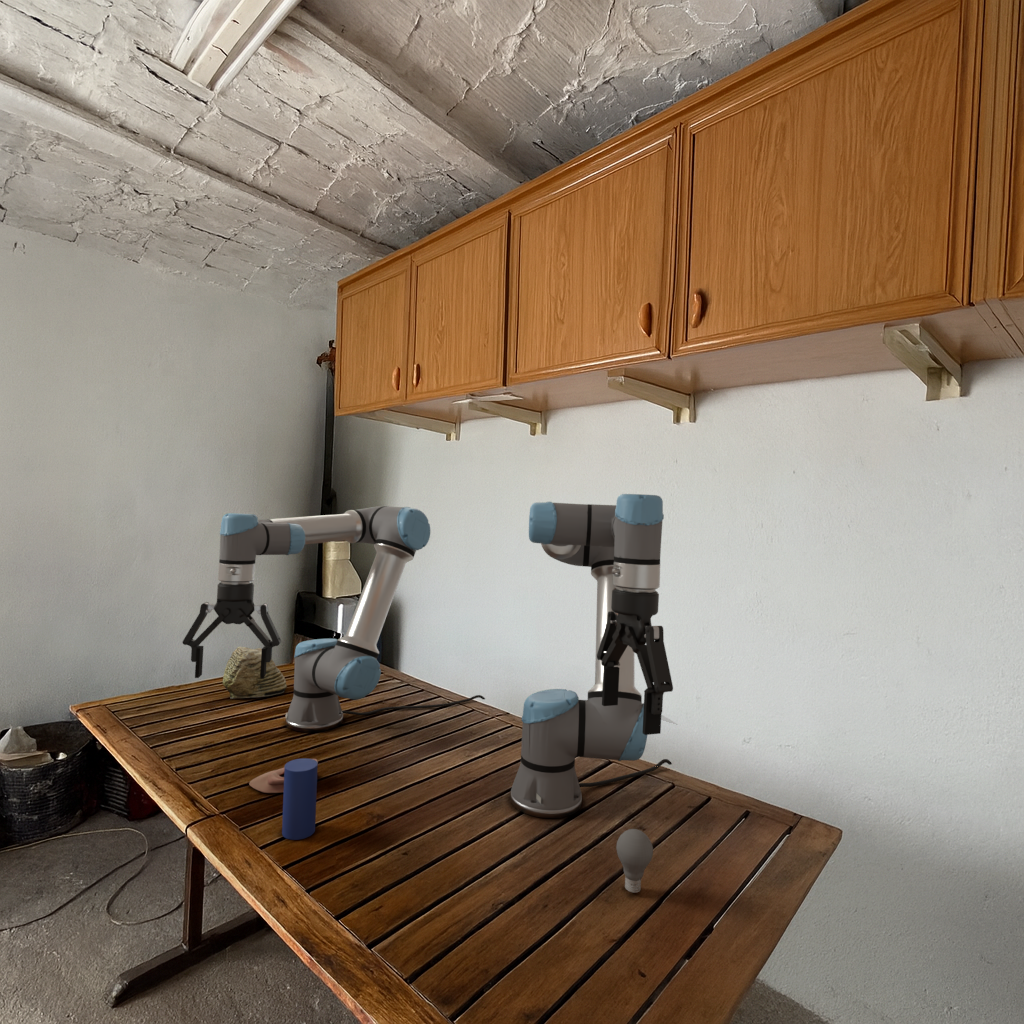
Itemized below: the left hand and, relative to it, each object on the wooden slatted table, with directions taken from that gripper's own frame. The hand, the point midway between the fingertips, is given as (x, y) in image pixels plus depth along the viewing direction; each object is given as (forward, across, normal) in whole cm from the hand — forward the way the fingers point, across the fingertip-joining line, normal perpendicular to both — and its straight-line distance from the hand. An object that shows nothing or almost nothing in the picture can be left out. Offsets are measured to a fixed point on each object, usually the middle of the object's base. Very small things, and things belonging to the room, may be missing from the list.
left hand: (231, 676), depth 142 cm
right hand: (-8, +73, -54) cm, 91 cm away
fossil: (+21, -5, +58) cm, 62 cm away
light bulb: (+22, +76, -53) cm, 95 cm away
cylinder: (+22, +19, -27) cm, 40 cm away
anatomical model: (+22, +13, -6) cm, 26 cm away
